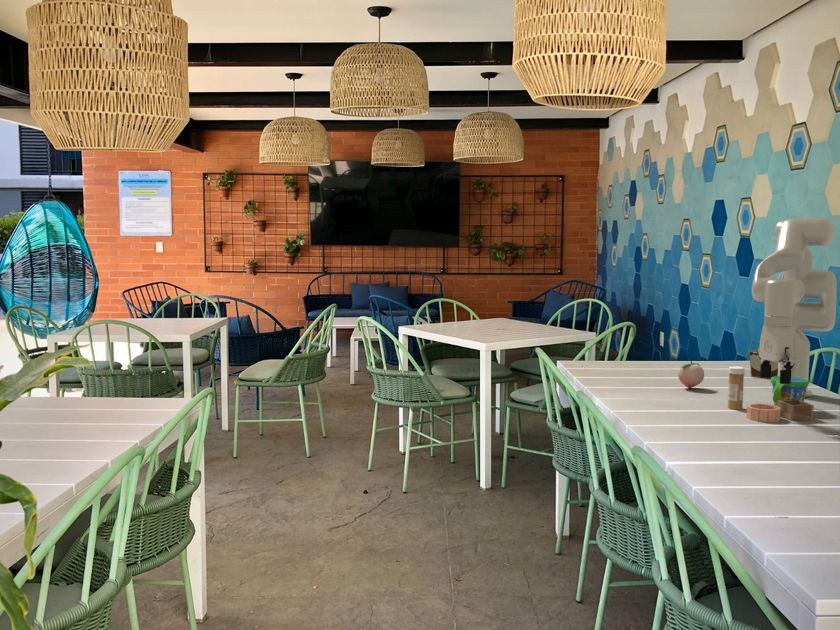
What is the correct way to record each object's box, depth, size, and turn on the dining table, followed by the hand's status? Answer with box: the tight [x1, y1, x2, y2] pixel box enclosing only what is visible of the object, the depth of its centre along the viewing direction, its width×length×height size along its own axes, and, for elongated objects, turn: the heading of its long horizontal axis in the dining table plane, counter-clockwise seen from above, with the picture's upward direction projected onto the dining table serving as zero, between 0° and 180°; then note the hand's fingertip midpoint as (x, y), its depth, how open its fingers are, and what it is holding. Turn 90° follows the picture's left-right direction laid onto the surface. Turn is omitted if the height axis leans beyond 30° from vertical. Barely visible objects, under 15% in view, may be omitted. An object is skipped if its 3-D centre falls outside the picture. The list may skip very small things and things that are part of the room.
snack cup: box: [770, 376, 810, 406], centre depth 251 cm, size 16×10×10 cm
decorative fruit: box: [677, 360, 705, 389], centre depth 287 cm, size 9×8×10 cm
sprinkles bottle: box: [727, 365, 746, 411], centre depth 252 cm, size 5×5×14 cm
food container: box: [747, 349, 778, 379], centre depth 312 cm, size 12×6×10 cm, turn 58°
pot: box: [745, 403, 781, 423], centre depth 239 cm, size 9×9×4 cm
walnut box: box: [777, 400, 815, 422], centre depth 240 cm, size 7×7×5 cm
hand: (775, 380), depth 238 cm, fingers open, 9 cm apart
